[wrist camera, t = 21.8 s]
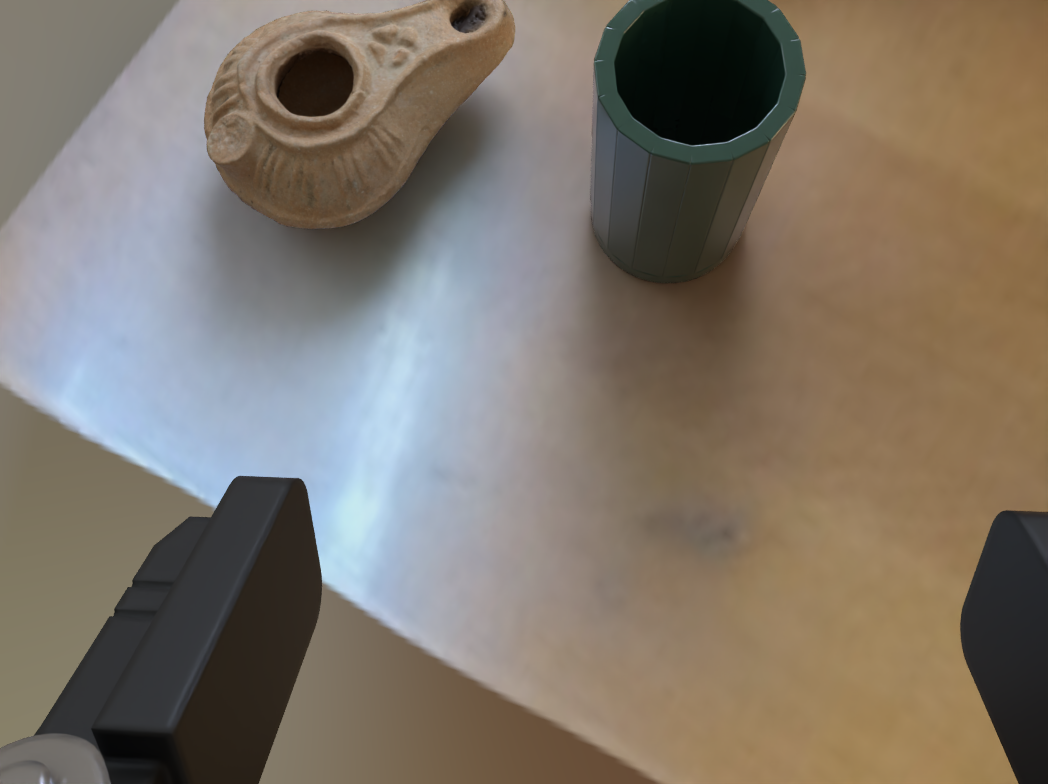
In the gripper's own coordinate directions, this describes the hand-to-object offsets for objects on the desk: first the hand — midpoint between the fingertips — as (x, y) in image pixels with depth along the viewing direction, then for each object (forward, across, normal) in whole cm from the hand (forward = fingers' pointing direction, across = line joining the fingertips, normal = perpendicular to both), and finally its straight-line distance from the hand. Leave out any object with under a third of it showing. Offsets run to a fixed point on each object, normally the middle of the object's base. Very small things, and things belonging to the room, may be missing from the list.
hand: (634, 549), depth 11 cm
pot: (+26, -2, +6) cm, 27 cm away
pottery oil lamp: (+28, +9, +4) cm, 30 cm away
